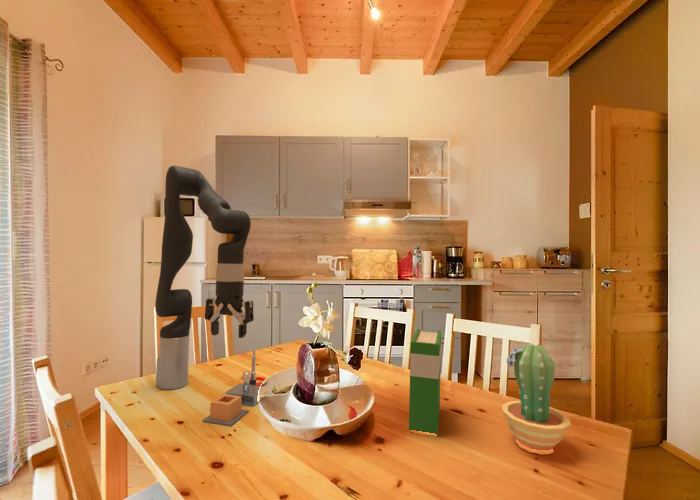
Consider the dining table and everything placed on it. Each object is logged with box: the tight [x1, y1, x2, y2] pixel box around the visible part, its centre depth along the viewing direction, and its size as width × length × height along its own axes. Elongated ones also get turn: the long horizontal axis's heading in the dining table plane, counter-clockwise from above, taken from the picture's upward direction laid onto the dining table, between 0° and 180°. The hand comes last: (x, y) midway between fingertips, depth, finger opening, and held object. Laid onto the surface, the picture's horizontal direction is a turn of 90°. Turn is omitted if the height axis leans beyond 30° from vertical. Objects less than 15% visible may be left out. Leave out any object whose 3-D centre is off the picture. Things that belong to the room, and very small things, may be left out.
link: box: [209, 393, 242, 421], centre depth 98 cm, size 6×6×4 cm
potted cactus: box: [501, 343, 572, 450], centre depth 87 cm, size 15×15×25 cm
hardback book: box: [408, 328, 442, 435], centre depth 99 cm, size 18×7×24 cm, turn 163°
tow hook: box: [249, 349, 266, 386], centre depth 124 cm, size 8×13×9 cm
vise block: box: [224, 370, 260, 407], centre depth 109 cm, size 10×11×8 cm
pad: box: [202, 408, 250, 427], centre depth 98 cm, size 9×9×1 cm
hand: (228, 336), depth 98 cm, fingers open, 8 cm apart
